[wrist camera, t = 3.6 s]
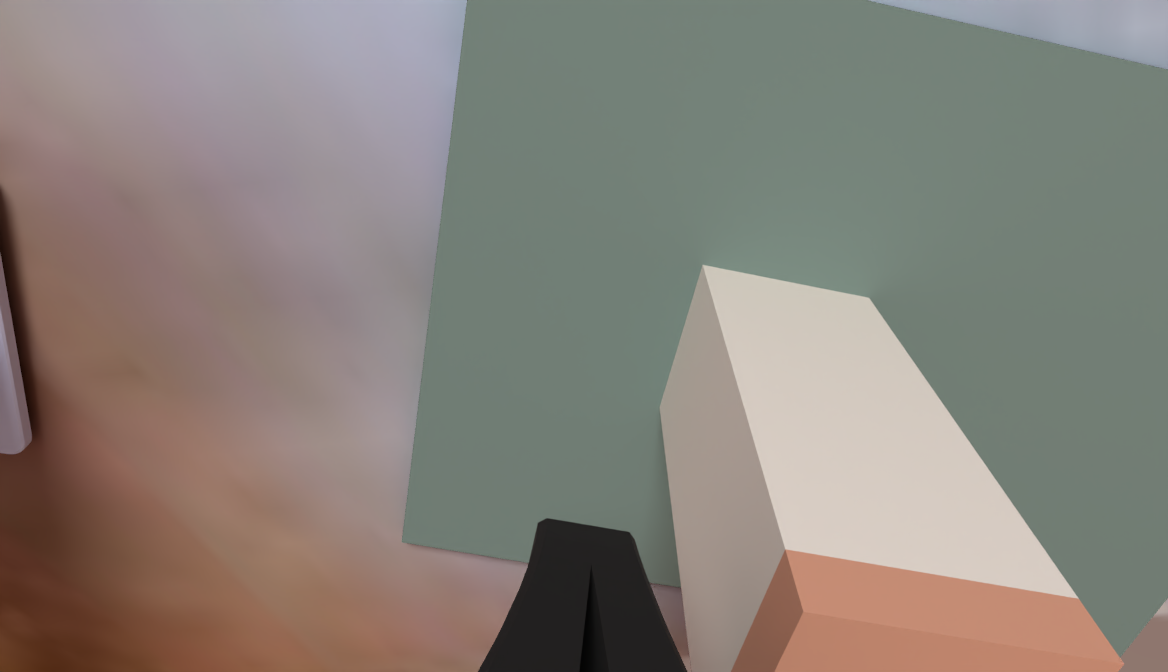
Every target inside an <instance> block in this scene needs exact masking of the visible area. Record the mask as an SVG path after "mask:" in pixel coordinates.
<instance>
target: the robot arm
mask: <svg viewBox="0 0 1168 672" xmlns="http://www.w3.org/2000/svg"><path fill="white" fill-rule="evenodd" d="M31 441H32V432H31V427H30V421H29V415H28V409H27V404H26V398H25V392H24V386H23V381H22V375H21V369H20V363H19V358H18V352H17V346H16V340H15V334H14V329H13V323H12V317H11V311H10V306H9V300H8V294H7V288H6V283H5V277H4V271H3V265H2V259H1V254H0V453H4V454H17V453H20V452H22V451H23V450H24V449H25V448H26V447H27V446H28V445H29V444H30V442H31ZM478 672H687V670H686V668H685V666H684V663H683V661H682V659H681V657H680V655H679V652H678V650H677V648H676V646H675V644H674V641H673V639H672V637H671V635H670V633H669V630H668V628H667V626H666V623H665V621H664V618H663V616H662V614H661V611H660V609H659V606H658V604H657V601H656V599H655V596H654V594H653V591H652V589H651V586H650V583H649V580H648V578H647V575H646V572H645V569H644V567H643V564H642V561H641V558H640V555H639V552H638V549H637V545H636V542H635V539H634V538H633V536H632V535H631V533H630V532H627V531H621V530H615V529H609V528H603V527H597V526H592V525H586V524H580V523H574V522H568V521H562V520H556V519H550V518H546V519H544V520H542V521H540V522H538V524H537V529H536V533H535V537H534V542H533V546H532V551H531V555H530V559H529V564H528V568H527V571H526V573H525V576H524V578H523V581H522V584H521V586H520V589H519V591H518V593H517V595H516V598H515V600H514V602H513V604H512V606H511V609H510V611H509V613H508V615H507V617H506V619H505V622H504V624H503V626H502V628H501V630H500V632H499V634H498V636H497V638H496V640H495V642H494V644H493V645H492V647H491V649H490V651H489V653H488V654H487V656H486V658H485V660H484V662H483V664H482V665H481V667H480V669H479V671H478Z"/></svg>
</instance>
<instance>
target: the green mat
mask: <svg viewBox="0 0 1168 672" xmlns="http://www.w3.org/2000/svg"><path fill="white" fill-rule="evenodd" d="M702 265H706V266H711V267H716V268H721V269H726V270H731V271H736V272H741V273H746V274H752V275H757V276H762V277H767V278H772V279H777V280H782V281H787V282H792V283H797V284H802V285H807V286H812V287H817V288H822V289H827V290H832V291H837V292H843V293H848V294H853V295H858V296H863V297H868V298H870V300H871V301H872V303H873V304H874V306H875V307H876V309H877V310H878V311H879V313H880V314H881V316H882V317H883V319H884V320H885V321H886V323H887V324H888V326H889V327H890V329H891V330H892V331H893V333H894V334H895V336H896V337H897V339H898V340H899V342H900V343H901V344H902V346H903V347H904V349H905V350H906V352H907V353H908V354H909V356H910V357H911V359H912V360H913V362H914V363H915V364H916V366H917V367H918V369H919V370H920V372H921V373H922V375H923V376H924V377H925V379H926V380H927V382H928V383H929V385H930V386H931V387H932V389H933V390H934V392H935V393H936V395H937V396H938V397H939V399H940V400H941V402H942V403H943V405H944V406H945V408H946V409H947V410H948V412H949V413H950V415H951V416H952V418H953V419H954V420H955V422H956V423H957V425H958V426H959V428H960V429H961V431H962V432H963V433H964V435H965V436H966V438H967V439H968V441H969V442H970V443H971V445H972V446H973V448H974V449H975V451H976V452H977V453H978V455H979V456H980V458H981V459H982V461H983V462H984V464H985V465H986V466H987V468H988V469H989V471H990V472H991V474H992V475H993V476H994V478H995V479H996V481H997V482H998V484H999V485H1000V486H1001V488H1002V489H1003V491H1004V492H1005V494H1006V495H1007V497H1008V498H1009V499H1010V501H1011V502H1012V504H1013V505H1014V507H1015V508H1016V509H1017V511H1018V512H1019V514H1020V515H1021V517H1022V518H1023V519H1024V521H1025V522H1026V524H1027V525H1028V527H1029V528H1030V530H1031V531H1032V532H1033V534H1034V535H1035V537H1036V538H1037V540H1038V541H1039V542H1040V544H1041V545H1042V547H1043V548H1044V550H1045V551H1046V552H1047V554H1048V555H1049V557H1050V558H1051V560H1052V561H1053V563H1054V564H1055V565H1056V567H1057V568H1058V570H1059V571H1060V573H1061V574H1062V575H1063V577H1064V578H1065V580H1066V581H1067V583H1068V584H1069V585H1070V587H1071V588H1072V590H1073V591H1074V593H1075V594H1076V596H1077V597H1078V598H1079V600H1080V601H1081V603H1082V604H1083V606H1084V607H1085V608H1086V610H1087V611H1088V613H1089V614H1090V616H1091V617H1092V618H1093V620H1094V621H1095V623H1096V624H1097V626H1098V627H1099V629H1100V630H1101V631H1102V633H1103V634H1104V636H1105V637H1106V639H1107V640H1108V641H1109V643H1110V644H1111V646H1112V647H1113V649H1114V650H1115V652H1116V653H1117V654H1118V656H1119V657H1121V656H1122V654H1123V653H1124V652H1125V651H1126V649H1127V648H1128V647H1129V646H1130V644H1131V643H1132V642H1133V641H1134V639H1135V638H1136V637H1137V636H1138V634H1139V633H1140V632H1141V631H1142V629H1143V628H1144V627H1145V626H1146V624H1147V623H1148V622H1149V621H1150V619H1151V618H1152V617H1153V616H1154V614H1155V613H1156V612H1157V611H1158V609H1159V608H1160V607H1161V606H1162V604H1163V603H1164V602H1165V601H1166V599H1167V598H1168V70H1167V69H1163V68H1159V67H1154V66H1150V65H1145V64H1141V63H1137V62H1132V61H1128V60H1124V59H1119V58H1115V57H1111V56H1106V55H1102V54H1098V53H1093V52H1089V51H1085V50H1080V49H1076V48H1072V47H1067V46H1063V45H1059V44H1054V43H1050V42H1046V41H1041V40H1037V39H1033V38H1028V37H1024V36H1020V35H1015V34H1011V33H1006V32H1002V31H998V30H993V29H989V28H985V27H980V26H976V25H972V24H967V23H963V22H959V21H954V20H950V19H946V18H941V17H937V16H933V15H928V14H924V13H920V12H915V11H911V10H907V9H902V8H898V7H894V6H889V5H885V4H881V3H876V2H872V1H867V0H467V6H466V14H465V23H464V31H463V39H462V47H461V56H460V64H459V72H458V80H457V89H456V97H455V105H454V114H453V122H452V130H451V138H450V147H449V155H448V163H447V172H446V180H445V188H444V196H443V205H442V213H441V221H440V230H439V238H438V246H437V254H436V263H435V271H434V279H433V288H432V296H431V304H430V312H429V321H428V329H427V337H426V346H425V354H424V362H423V370H422V379H421V387H420V395H419V404H418V412H417V420H416V428H415V437H414V445H413V453H412V462H411V470H410V478H409V486H408V495H407V503H406V511H405V520H404V528H403V536H402V542H403V543H410V544H416V545H422V546H428V547H434V548H440V549H447V550H453V551H459V552H465V553H471V554H477V555H483V556H490V557H496V558H502V559H508V560H514V561H520V562H526V563H529V559H530V555H531V551H532V546H533V542H534V537H535V533H536V529H537V524H538V522H540V521H542V520H544V519H546V518H550V519H556V520H562V521H568V522H574V523H580V524H586V525H592V526H597V527H603V528H609V529H615V530H621V531H627V532H630V533H631V535H632V536H633V538H634V539H635V542H636V545H637V549H638V552H639V555H640V558H641V561H642V564H643V567H644V569H645V572H646V575H647V578H648V580H649V583H655V584H662V585H668V586H674V587H680V588H681V582H680V574H679V565H678V557H677V549H676V540H675V532H674V524H673V515H672V507H671V499H670V490H669V482H668V474H667V465H666V457H665V449H664V440H663V432H662V424H661V415H660V404H661V401H662V398H663V394H664V391H665V388H666V384H667V381H668V378H669V374H670V371H671V368H672V365H673V361H674V358H675V355H676V351H677V348H678V345H679V341H680V338H681V335H682V331H683V328H684V325H685V322H686V318H687V315H688V312H689V308H690V305H691V302H692V298H693V295H694V292H695V288H696V285H697V282H698V279H699V275H700V272H701V269H702Z"/></svg>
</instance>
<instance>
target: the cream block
mask: <svg viewBox="0 0 1168 672" xmlns="http://www.w3.org/2000/svg"><path fill="white" fill-rule="evenodd" d="M660 415H661V424H662V432H663V440H664V449H665V457H666V465H667V474H668V482H669V490H670V499H671V507H672V515H673V524H674V532H675V540H676V549H677V557H678V565H679V574H680V582H681V590H682V599H683V607H684V615H685V624H686V632H687V640H688V649H689V657H690V665H691V672H1118V671H1119V670H1120V669H1121V667H1122V666H1123V665H1124V663H1123V662H1122V660H1121V659H1120V657H1119V656H1118V654H1117V653H1116V652H1115V650H1114V649H1113V647H1112V646H1111V644H1110V643H1109V641H1108V640H1107V639H1106V637H1105V636H1104V634H1103V633H1102V631H1101V630H1100V629H1099V627H1098V626H1097V624H1096V623H1095V621H1094V620H1093V618H1092V617H1091V616H1090V614H1089V613H1088V611H1087V610H1086V608H1085V607H1084V606H1083V604H1082V603H1081V601H1080V600H1079V598H1078V597H1077V596H1076V594H1075V593H1074V591H1073V590H1072V588H1071V587H1070V585H1069V584H1068V583H1067V581H1066V580H1065V578H1064V577H1063V575H1062V574H1061V573H1060V571H1059V570H1058V568H1057V567H1056V565H1055V564H1054V563H1053V561H1052V560H1051V558H1050V557H1049V555H1048V554H1047V552H1046V551H1045V550H1044V548H1043V547H1042V545H1041V544H1040V542H1039V541H1038V540H1037V538H1036V537H1035V535H1034V534H1033V532H1032V531H1031V530H1030V528H1029V527H1028V525H1027V524H1026V522H1025V521H1024V519H1023V518H1022V517H1021V515H1020V514H1019V512H1018V511H1017V509H1016V508H1015V507H1014V505H1013V504H1012V502H1011V501H1010V499H1009V498H1008V497H1007V495H1006V494H1005V492H1004V491H1003V489H1002V488H1001V486H1000V485H999V484H998V482H997V481H996V479H995V478H994V476H993V475H992V474H991V472H990V471H989V469H988V468H987V466H986V465H985V464H984V462H983V461H982V459H981V458H980V456H979V455H978V453H977V452H976V451H975V449H974V448H973V446H972V445H971V443H970V442H969V441H968V439H967V438H966V436H965V435H964V433H963V432H962V431H961V429H960V428H959V426H958V425H957V423H956V422H955V420H954V419H953V418H952V416H951V415H950V413H949V412H948V410H947V409H946V408H945V406H944V405H943V403H942V402H941V400H940V399H939V397H938V396H937V395H936V393H935V392H934V390H933V389H932V387H931V386H930V385H929V383H928V382H927V380H926V379H925V377H924V376H923V375H922V373H921V372H920V370H919V369H918V367H917V366H916V364H915V363H914V362H913V360H912V359H911V357H910V356H909V354H908V353H907V352H906V350H905V349H904V347H903V346H902V344H901V343H900V342H899V340H898V339H897V337H896V336H895V334H894V333H893V331H892V330H891V329H890V327H889V326H888V324H887V323H886V321H885V320H884V319H883V317H882V316H881V314H880V313H879V311H878V310H877V309H876V307H875V306H874V304H873V303H872V301H871V300H870V298H868V297H863V296H858V295H853V294H848V293H843V292H837V291H832V290H827V289H822V288H817V287H812V286H807V285H802V284H797V283H792V282H787V281H782V280H777V279H772V278H767V277H762V276H757V275H752V274H746V273H741V272H736V271H731V270H726V269H721V268H716V267H711V266H706V265H702V269H701V272H700V275H699V279H698V282H697V285H696V288H695V292H694V295H693V298H692V302H691V305H690V308H689V312H688V315H687V318H686V322H685V325H684V328H683V331H682V335H681V338H680V341H679V345H678V348H677V351H676V355H675V358H674V361H673V365H672V368H671V371H670V374H669V378H668V381H667V384H666V388H665V391H664V394H663V398H662V401H661V404H660Z"/></svg>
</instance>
